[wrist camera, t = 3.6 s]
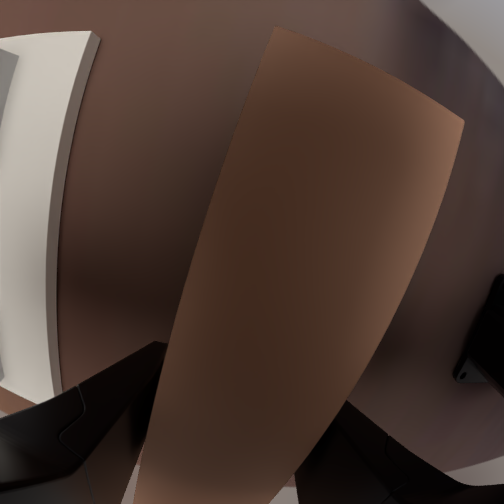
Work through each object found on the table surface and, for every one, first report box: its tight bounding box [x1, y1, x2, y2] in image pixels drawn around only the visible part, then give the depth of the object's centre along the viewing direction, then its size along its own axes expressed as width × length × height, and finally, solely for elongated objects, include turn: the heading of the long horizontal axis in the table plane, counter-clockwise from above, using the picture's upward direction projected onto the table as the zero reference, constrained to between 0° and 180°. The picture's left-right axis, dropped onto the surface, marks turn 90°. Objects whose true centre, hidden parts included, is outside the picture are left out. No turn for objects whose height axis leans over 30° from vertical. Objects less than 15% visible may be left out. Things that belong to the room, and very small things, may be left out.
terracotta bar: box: [133, 26, 465, 504], centre depth 8 cm, size 4×15×4 cm, turn 161°
